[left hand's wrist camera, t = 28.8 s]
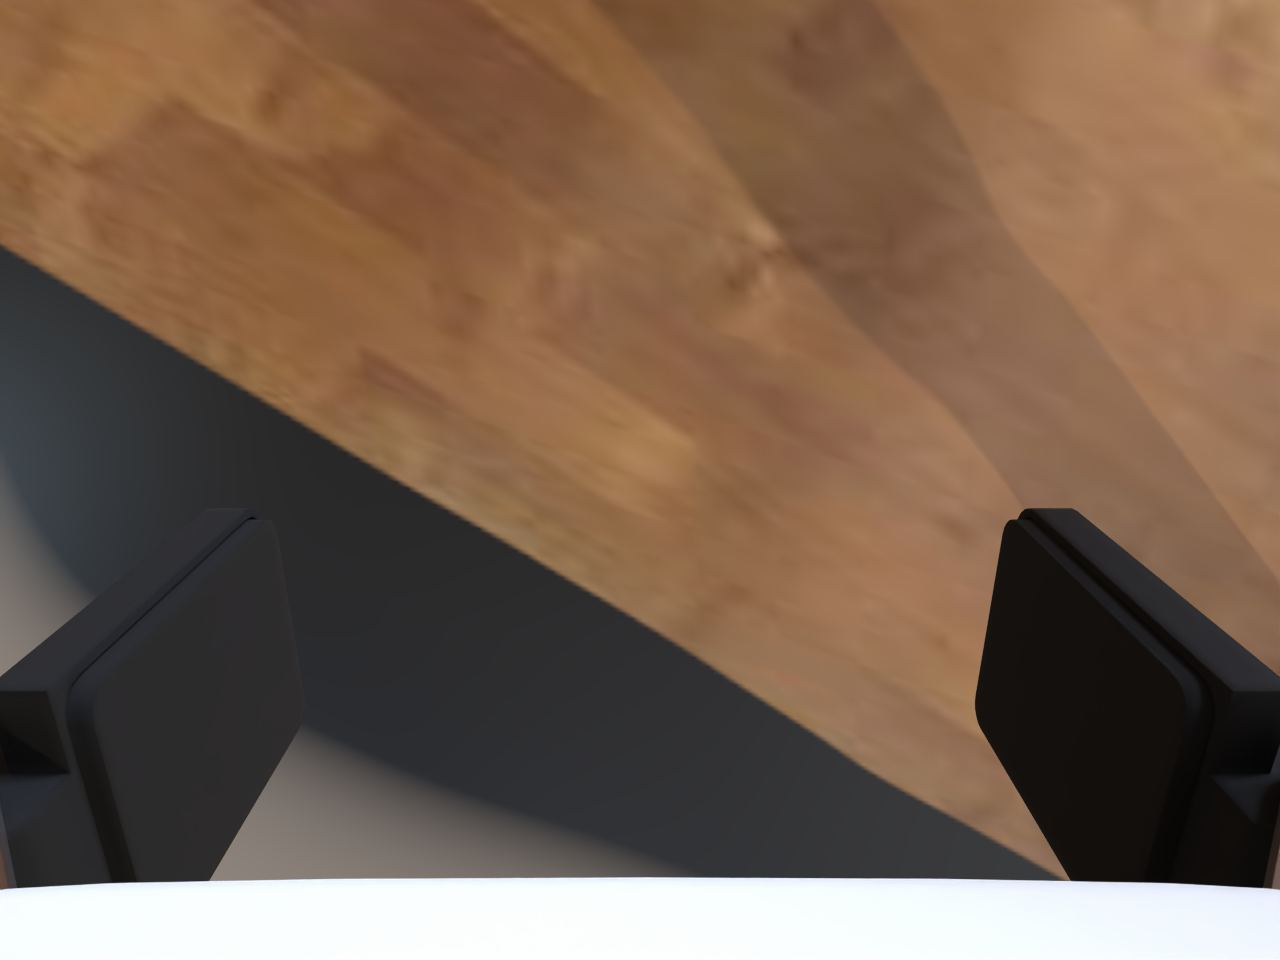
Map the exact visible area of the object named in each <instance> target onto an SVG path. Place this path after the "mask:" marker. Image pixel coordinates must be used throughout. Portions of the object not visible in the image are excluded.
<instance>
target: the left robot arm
mask: <svg viewBox="0 0 1280 960" xmlns="http://www.w3.org/2000/svg"><path fill="white" fill-rule="evenodd" d="M304 710H305V698H304V691H303V685H302V679H301V673H300V667H299V661H298V655H297V649H296V643H295V637H294V631H293V625H292V619H291V613H290V607H289V601H288V595H287V589H286V583H285V577H284V571H283V565H282V559H281V553H280V548H279V541H278V535H277V531H276V528H275V525H274V523H273V522H272V521H271V520H263V519H262V517H261V516H260V514H259V512H257V511H256V510H255V509H250V508H217V509H216V508H209V509H206V510H204V511H203V512H201V513H200V514H199V515H198V516H196V517H195V518H194V519H193V520H191V521H190V522H189V523H188V524H187V525H185V526H184V527H183V528H182V529H180V530H179V531H178V532H177V533H176V534H174V535H173V536H172V537H171V538H169V539H168V540H167V541H166V542H165V543H163V544H162V545H161V546H160V547H159V548H157V549H156V550H155V551H154V552H152V553H151V554H150V555H149V556H148V557H146V558H145V559H144V560H143V561H141V562H140V563H139V564H138V565H137V566H135V567H134V568H133V569H132V570H130V571H129V572H128V573H127V574H125V575H124V576H123V577H122V578H121V579H119V580H118V581H117V582H116V583H114V584H113V585H112V586H111V587H110V588H108V589H107V590H106V591H105V592H103V593H102V594H101V595H100V596H99V597H97V598H96V599H95V600H94V601H92V602H91V603H90V604H89V605H88V606H86V607H85V608H84V609H83V610H81V611H80V612H79V613H78V614H77V615H75V616H74V617H73V618H72V619H70V620H69V621H68V622H67V623H66V624H64V625H63V626H62V627H61V628H59V629H58V630H57V631H56V632H55V633H53V634H52V635H51V636H50V637H48V638H47V639H46V640H45V641H44V642H42V643H41V644H40V645H39V646H37V647H36V648H35V649H34V650H33V651H31V652H30V653H29V654H28V655H26V656H25V657H24V658H23V659H22V660H20V661H19V662H18V663H17V664H15V665H14V666H13V667H12V668H11V669H9V670H8V671H7V672H6V673H4V674H3V675H2V676H1V677H0V960H1280V677H1279V676H1278V675H1277V674H1276V673H1274V672H1273V671H1272V670H1271V669H1269V668H1268V667H1267V666H1266V665H1265V664H1263V663H1262V662H1261V661H1260V660H1258V659H1257V658H1256V657H1255V656H1254V655H1252V654H1251V653H1250V652H1249V651H1247V650H1246V649H1245V648H1244V647H1243V646H1241V645H1240V644H1239V643H1238V642H1236V641H1235V640H1234V639H1233V638H1232V637H1230V636H1229V635H1228V634H1227V633H1225V632H1224V631H1223V630H1222V629H1221V628H1219V627H1218V626H1217V625H1216V624H1214V623H1213V622H1212V621H1211V620H1210V619H1208V618H1207V617H1206V616H1205V615H1203V614H1202V613H1201V612H1200V611H1199V610H1197V609H1196V608H1195V607H1194V606H1192V605H1191V604H1190V603H1189V602H1188V601H1186V600H1185V599H1184V598H1183V597H1181V596H1180V595H1179V594H1178V593H1177V592H1175V591H1174V590H1173V589H1172V588H1170V587H1169V586H1168V585H1167V584H1166V583H1164V582H1163V581H1162V580H1161V579H1159V578H1158V577H1157V576H1156V575H1155V574H1153V573H1152V572H1151V571H1150V570H1148V569H1147V568H1146V567H1145V566H1144V565H1142V564H1141V563H1140V562H1139V561H1137V560H1136V559H1135V558H1134V557H1133V556H1131V555H1130V554H1129V553H1128V552H1126V551H1125V550H1124V549H1123V548H1122V547H1120V546H1119V545H1118V544H1117V543H1115V542H1114V541H1113V540H1112V539H1111V538H1109V537H1108V536H1107V535H1106V534H1104V533H1103V532H1102V531H1101V530H1100V529H1098V528H1097V527H1096V526H1095V525H1093V524H1092V523H1091V522H1090V521H1089V520H1087V519H1086V518H1085V517H1084V516H1082V515H1081V514H1080V513H1079V512H1078V511H1076V510H1074V509H1072V508H1030V509H1025V510H1024V511H1022V512H1021V514H1020V515H1019V517H1018V519H1017V520H1009V521H1008V522H1007V523H1006V525H1005V527H1004V531H1003V535H1002V541H1001V547H1000V553H999V559H998V565H997V571H996V577H995V583H994V589H993V595H992V601H991V607H990V613H989V619H988V625H987V631H986V637H985V643H984V649H983V655H982V661H981V667H980V673H979V679H978V685H977V691H976V698H975V710H976V717H977V720H978V724H979V726H980V728H981V730H982V732H983V733H984V735H985V737H986V738H987V740H988V742H989V743H990V745H991V747H992V748H993V750H994V752H995V754H996V755H997V757H998V759H999V760H1000V762H1001V764H1002V765H1003V767H1004V769H1005V770H1006V772H1007V774H1008V775H1009V777H1010V779H1011V781H1012V782H1013V784H1014V786H1015V787H1016V789H1017V791H1018V792H1019V794H1020V796H1021V797H1022V799H1023V801H1024V802H1025V804H1026V806H1027V807H1028V809H1029V811H1030V813H1031V814H1032V816H1033V818H1034V819H1035V821H1036V823H1037V824H1038V826H1039V828H1040V829H1041V831H1042V833H1043V834H1044V836H1045V838H1046V840H1047V841H1048V843H1049V845H1050V846H1051V848H1052V850H1053V851H1054V853H1055V855H1056V856H1057V858H1058V860H1059V861H1060V863H1061V865H1062V867H1063V868H1064V870H1065V872H1066V873H1067V875H1068V877H1069V878H1070V880H1071V881H1023V880H968V879H839V878H838V879H837V878H836V879H835V878H444V879H443V878H441V879H311V880H256V881H209V880H210V878H211V877H212V875H213V873H214V872H215V870H216V868H217V867H218V865H219V863H220V861H221V860H222V858H223V856H224V855H225V853H226V851H227V850H228V848H229V846H230V845H231V843H232V841H233V840H234V838H235V836H236V834H237V833H238V831H239V829H240V828H241V826H242V824H243V823H244V821H245V819H246V818H247V816H248V814H249V813H250V811H251V809H252V807H253V806H254V804H255V802H256V801H257V799H258V797H259V796H260V794H261V792H262V791H263V789H264V787H265V786H266V784H267V782H268V781H269V779H270V777H271V775H272V774H273V772H274V770H275V769H276V767H277V765H278V764H279V762H280V760H281V758H282V757H283V755H284V753H285V752H286V750H287V748H288V747H289V745H290V743H291V742H292V740H293V738H294V736H295V735H296V733H297V732H298V730H299V728H300V726H301V723H302V720H303V717H304Z"/></svg>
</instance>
